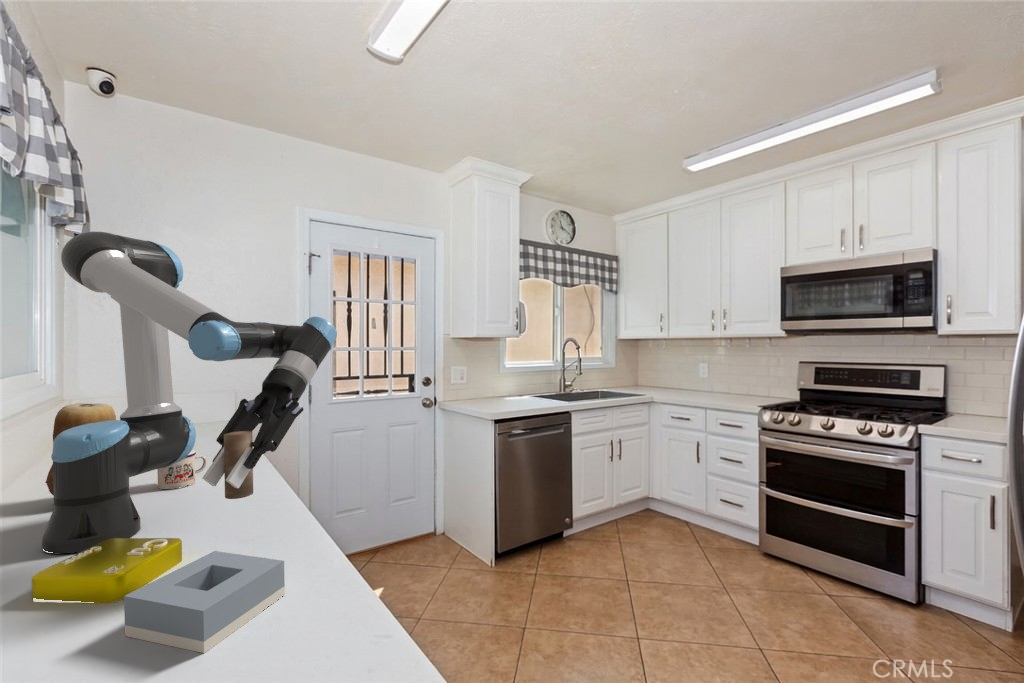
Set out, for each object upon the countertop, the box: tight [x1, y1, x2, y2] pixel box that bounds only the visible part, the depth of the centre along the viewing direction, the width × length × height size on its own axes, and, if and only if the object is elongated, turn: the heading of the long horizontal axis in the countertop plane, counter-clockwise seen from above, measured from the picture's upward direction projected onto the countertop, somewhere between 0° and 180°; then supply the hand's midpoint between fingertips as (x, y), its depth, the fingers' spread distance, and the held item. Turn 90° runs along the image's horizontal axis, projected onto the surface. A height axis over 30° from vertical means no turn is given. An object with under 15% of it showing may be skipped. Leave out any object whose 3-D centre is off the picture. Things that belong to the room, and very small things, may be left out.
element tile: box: [31, 537, 183, 604], centre depth 80 cm, size 15×15×5 cm
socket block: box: [123, 550, 286, 654], centre depth 69 cm, size 14×14×6 cm
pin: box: [224, 431, 254, 500], centre depth 83 cm, size 4×4×11 cm
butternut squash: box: [44, 402, 117, 497], centre depth 120 cm, size 14×13×25 cm
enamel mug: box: [156, 449, 208, 490], centre depth 133 cm, size 12×9×12 cm
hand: (220, 483), depth 80 cm, fingers closed on pin, 4 cm apart
